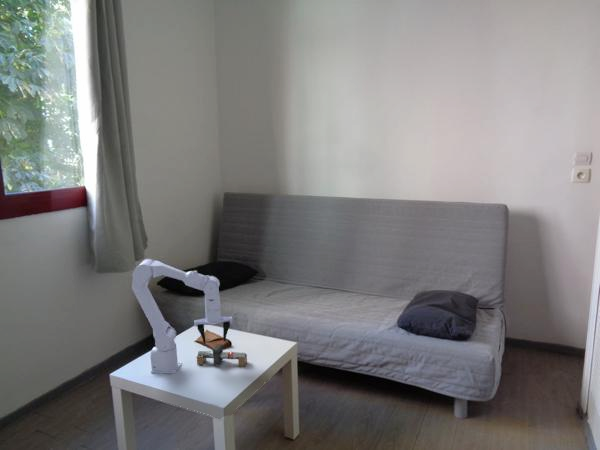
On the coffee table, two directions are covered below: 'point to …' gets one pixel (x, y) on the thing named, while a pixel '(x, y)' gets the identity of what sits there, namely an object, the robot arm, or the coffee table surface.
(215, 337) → the sunglasses case
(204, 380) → the coffee table surface
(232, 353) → the pipe
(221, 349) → the ring
